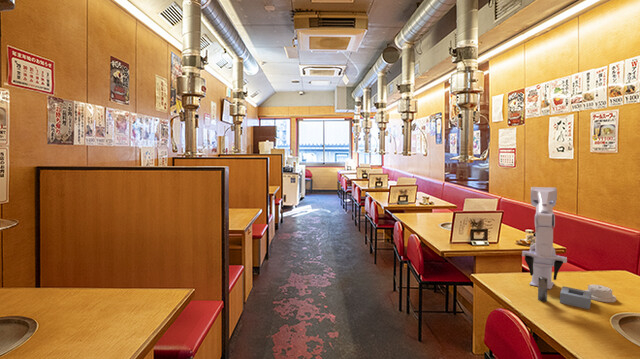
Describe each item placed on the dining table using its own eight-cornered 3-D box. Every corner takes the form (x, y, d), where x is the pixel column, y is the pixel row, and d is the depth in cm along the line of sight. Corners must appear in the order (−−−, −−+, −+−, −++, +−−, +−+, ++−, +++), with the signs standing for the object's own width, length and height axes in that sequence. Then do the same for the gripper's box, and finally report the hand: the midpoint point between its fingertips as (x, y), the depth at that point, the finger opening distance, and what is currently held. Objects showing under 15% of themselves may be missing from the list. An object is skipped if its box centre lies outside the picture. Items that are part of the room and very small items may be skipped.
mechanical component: (584, 291, 139) (582, 298, 132) (585, 281, 139) (583, 287, 131) (616, 297, 132) (616, 305, 125) (616, 286, 132) (616, 294, 125)
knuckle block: (562, 295, 134) (562, 286, 134) (591, 301, 128) (591, 291, 128) (559, 302, 127) (560, 292, 127) (589, 309, 121) (590, 299, 121)
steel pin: (538, 297, 132) (539, 276, 131) (547, 299, 130) (548, 277, 129) (537, 300, 130) (537, 278, 129) (546, 302, 128) (546, 279, 127)
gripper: (520, 242, 130) (519, 275, 131) (565, 248, 121) (564, 284, 121) (524, 239, 136) (523, 271, 136) (567, 244, 126) (566, 279, 127)
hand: (543, 277), depth 129 cm, fingers open, 7 cm apart
